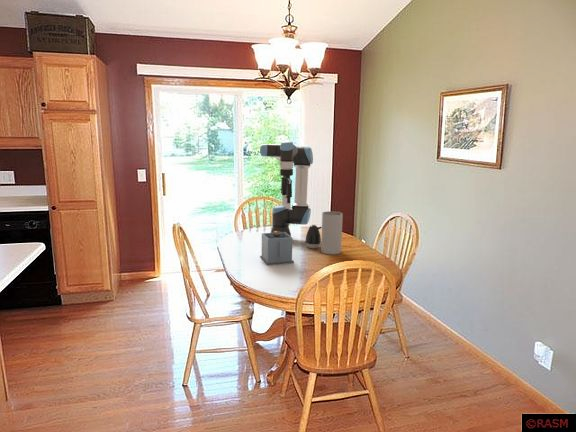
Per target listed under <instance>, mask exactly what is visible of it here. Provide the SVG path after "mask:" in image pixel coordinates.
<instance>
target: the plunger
mask: <svg viewBox="0 0 576 432" xmlns="http://www.w3.org/2000/svg"><path fill="white" fill-rule="evenodd" d="M273 236H275V237H276V238H278V237H279V236H280V231H274V232H273Z"/></svg>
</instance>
